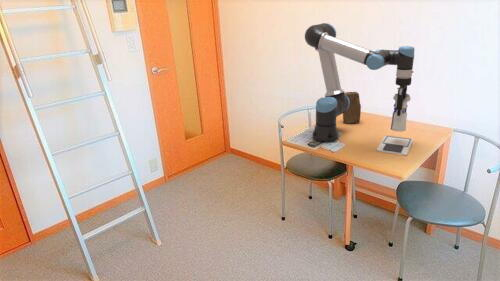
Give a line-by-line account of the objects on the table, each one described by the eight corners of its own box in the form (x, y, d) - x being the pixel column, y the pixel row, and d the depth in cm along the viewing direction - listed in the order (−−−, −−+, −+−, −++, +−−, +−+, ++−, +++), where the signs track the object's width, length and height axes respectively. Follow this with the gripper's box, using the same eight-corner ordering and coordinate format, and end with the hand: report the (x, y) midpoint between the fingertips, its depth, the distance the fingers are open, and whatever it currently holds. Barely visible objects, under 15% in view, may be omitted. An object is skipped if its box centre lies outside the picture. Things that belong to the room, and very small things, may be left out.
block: (342, 123, 233) (344, 93, 226) (342, 120, 240) (343, 91, 233) (360, 124, 231) (362, 93, 224) (359, 120, 238) (361, 91, 230)
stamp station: (376, 151, 191) (376, 148, 190) (385, 137, 208) (385, 134, 208) (406, 155, 183) (407, 153, 183) (412, 140, 201) (413, 138, 201)
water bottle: (408, 132, 192) (413, 86, 183) (391, 131, 194) (396, 86, 185) (405, 126, 200) (410, 82, 191) (389, 126, 202) (393, 82, 192)
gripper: (408, 81, 176) (403, 125, 185) (414, 73, 193) (409, 114, 201) (392, 80, 180) (388, 123, 188) (399, 73, 196) (395, 113, 205)
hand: (399, 118), depth 195 cm, fingers closed on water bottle, 7 cm apart
